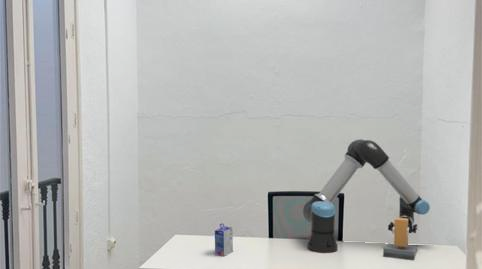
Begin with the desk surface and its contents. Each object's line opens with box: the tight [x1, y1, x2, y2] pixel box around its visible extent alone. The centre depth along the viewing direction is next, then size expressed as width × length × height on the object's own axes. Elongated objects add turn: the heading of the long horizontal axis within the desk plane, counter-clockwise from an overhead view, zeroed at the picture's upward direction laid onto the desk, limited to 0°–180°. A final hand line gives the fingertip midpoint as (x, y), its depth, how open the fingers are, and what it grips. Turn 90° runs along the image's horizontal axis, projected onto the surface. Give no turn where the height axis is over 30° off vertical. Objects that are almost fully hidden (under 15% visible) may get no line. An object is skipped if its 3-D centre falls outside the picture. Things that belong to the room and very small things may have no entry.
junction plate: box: [382, 243, 418, 261], centre depth 230 cm, size 14×20×7 cm
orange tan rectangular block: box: [393, 217, 409, 247], centre depth 231 cm, size 6×6×13 cm
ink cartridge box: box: [214, 222, 234, 257], centre depth 225 cm, size 10×6×14 cm, turn 155°
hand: (400, 232), depth 227 cm, fingers closed on orange tan rectangular block, 6 cm apart
